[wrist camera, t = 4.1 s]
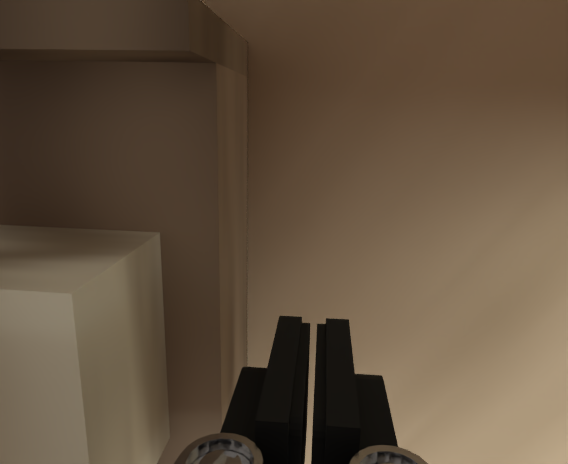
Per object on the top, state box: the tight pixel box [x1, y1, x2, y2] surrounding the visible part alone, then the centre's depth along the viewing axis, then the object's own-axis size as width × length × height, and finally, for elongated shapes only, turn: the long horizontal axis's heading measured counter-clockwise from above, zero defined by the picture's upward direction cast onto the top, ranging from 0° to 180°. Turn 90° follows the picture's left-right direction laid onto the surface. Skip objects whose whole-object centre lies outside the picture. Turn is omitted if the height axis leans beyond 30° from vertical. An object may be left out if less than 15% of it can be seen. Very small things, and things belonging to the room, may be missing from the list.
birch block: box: [0, 225, 170, 464], centre depth 10 cm, size 6×6×4 cm
